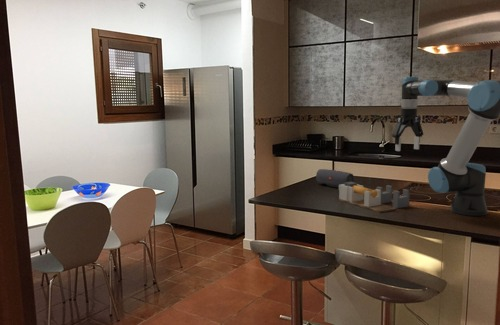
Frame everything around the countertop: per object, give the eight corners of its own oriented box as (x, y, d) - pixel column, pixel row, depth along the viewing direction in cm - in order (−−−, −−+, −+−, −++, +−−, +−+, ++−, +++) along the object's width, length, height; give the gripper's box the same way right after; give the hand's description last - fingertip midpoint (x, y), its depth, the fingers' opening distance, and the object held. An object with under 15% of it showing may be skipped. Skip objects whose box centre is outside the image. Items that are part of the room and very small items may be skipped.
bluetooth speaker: (315, 184, 263) (315, 169, 262) (324, 182, 269) (324, 167, 268) (345, 190, 246) (345, 173, 245) (354, 188, 252) (355, 171, 251)
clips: (381, 204, 208) (381, 190, 207) (367, 207, 204) (368, 192, 203) (351, 196, 226) (351, 183, 225) (338, 198, 222) (338, 184, 221)
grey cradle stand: (408, 206, 207) (409, 190, 206) (397, 208, 203) (398, 191, 202) (387, 200, 219) (387, 185, 218) (376, 202, 216) (376, 186, 214)
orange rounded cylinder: (379, 197, 205) (379, 188, 205) (372, 198, 203) (373, 189, 203) (350, 189, 223) (351, 181, 222) (344, 190, 221) (344, 182, 220)
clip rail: (395, 209, 201) (395, 208, 201) (380, 212, 196) (380, 211, 196) (352, 197, 227) (352, 196, 227) (337, 199, 222) (337, 198, 222)
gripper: (419, 107, 220) (418, 147, 223) (385, 108, 208) (383, 150, 211) (432, 107, 214) (430, 149, 217) (397, 108, 202) (395, 152, 205)
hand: (407, 150), depth 214 cm, fingers open, 13 cm apart
